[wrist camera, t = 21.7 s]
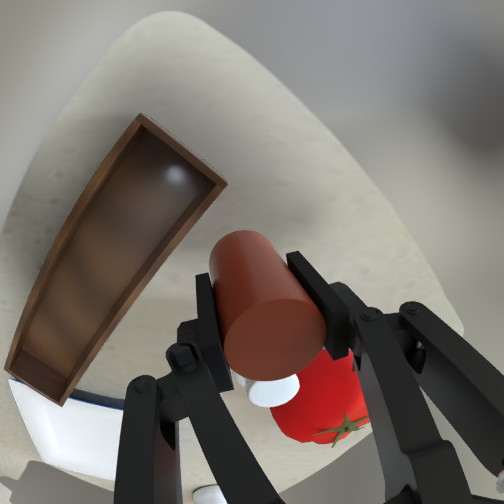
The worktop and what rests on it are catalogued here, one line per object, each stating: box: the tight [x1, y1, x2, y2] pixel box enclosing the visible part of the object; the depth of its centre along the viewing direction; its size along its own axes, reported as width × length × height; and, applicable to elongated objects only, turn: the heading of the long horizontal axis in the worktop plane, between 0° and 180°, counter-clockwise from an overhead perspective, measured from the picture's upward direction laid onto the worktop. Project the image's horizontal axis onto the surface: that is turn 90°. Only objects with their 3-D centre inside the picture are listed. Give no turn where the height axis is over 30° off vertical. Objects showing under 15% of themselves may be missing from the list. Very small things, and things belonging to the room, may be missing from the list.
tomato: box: [270, 349, 370, 448], centre depth 29 cm, size 11×13×10 cm
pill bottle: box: [233, 371, 299, 407], centre depth 25 cm, size 5×5×10 cm
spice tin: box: [209, 230, 327, 381], centre depth 17 cm, size 5×5×9 cm
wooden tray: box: [4, 113, 229, 407], centre depth 23 cm, size 29×8×4 cm, turn 138°
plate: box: [8, 379, 124, 481], centre depth 32 cm, size 22×22×2 cm
